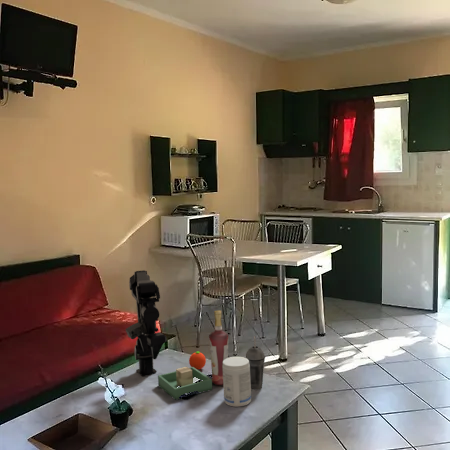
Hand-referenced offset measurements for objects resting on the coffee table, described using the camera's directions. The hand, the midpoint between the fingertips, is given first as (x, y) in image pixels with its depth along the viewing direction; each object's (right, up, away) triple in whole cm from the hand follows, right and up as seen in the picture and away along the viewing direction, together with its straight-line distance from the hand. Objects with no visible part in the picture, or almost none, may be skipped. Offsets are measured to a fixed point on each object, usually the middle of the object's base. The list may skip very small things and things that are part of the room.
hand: (149, 355), depth 194 cm
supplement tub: (+33, -13, -14) cm, 38 cm away
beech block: (+13, -11, -1) cm, 17 cm away
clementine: (+17, -10, +17) cm, 26 cm away
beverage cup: (+40, -11, -3) cm, 42 cm away
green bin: (+13, -12, -1) cm, 18 cm away
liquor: (+27, -11, +2) cm, 29 cm away
